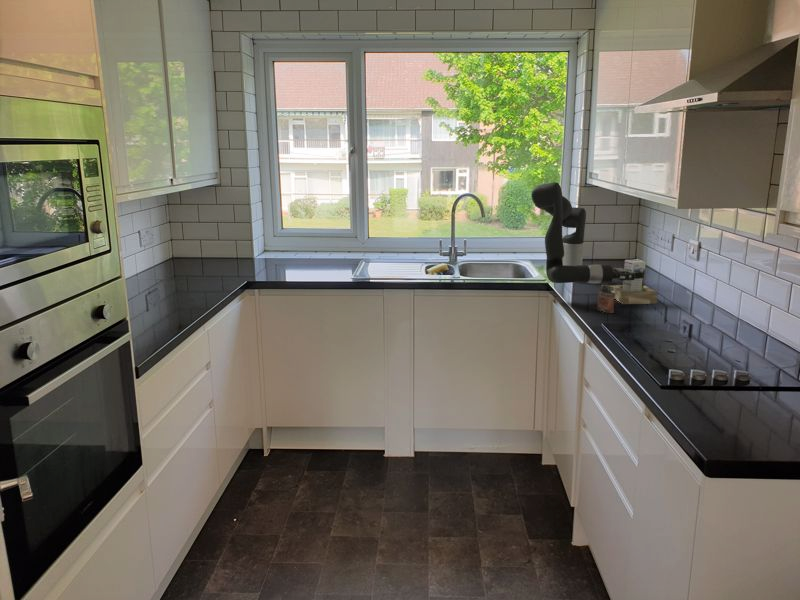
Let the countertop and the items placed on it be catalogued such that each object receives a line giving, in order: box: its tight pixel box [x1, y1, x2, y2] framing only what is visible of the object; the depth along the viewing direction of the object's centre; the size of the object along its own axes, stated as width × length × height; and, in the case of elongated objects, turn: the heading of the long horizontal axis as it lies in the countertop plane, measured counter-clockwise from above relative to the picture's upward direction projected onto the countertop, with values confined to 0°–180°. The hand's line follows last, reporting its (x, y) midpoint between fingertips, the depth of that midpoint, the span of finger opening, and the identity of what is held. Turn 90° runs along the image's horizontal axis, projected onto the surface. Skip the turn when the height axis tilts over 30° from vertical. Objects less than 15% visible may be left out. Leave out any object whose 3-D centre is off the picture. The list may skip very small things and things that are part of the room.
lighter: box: [596, 284, 615, 314], centre depth 235 cm, size 8×3×10 cm, turn 21°
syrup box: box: [622, 258, 646, 291], centre depth 251 cm, size 6×6×14 cm
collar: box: [609, 284, 659, 305], centre depth 252 cm, size 14×14×4 cm
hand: (639, 273), depth 250 cm, fingers closed on syrup box, 6 cm apart
